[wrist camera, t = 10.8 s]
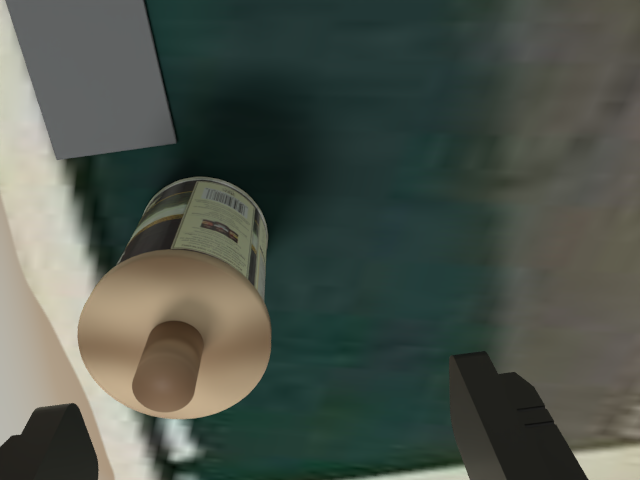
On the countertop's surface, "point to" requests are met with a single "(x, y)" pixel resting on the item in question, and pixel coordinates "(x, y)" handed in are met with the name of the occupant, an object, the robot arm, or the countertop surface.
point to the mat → (94, 74)
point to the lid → (175, 334)
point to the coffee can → (205, 226)
